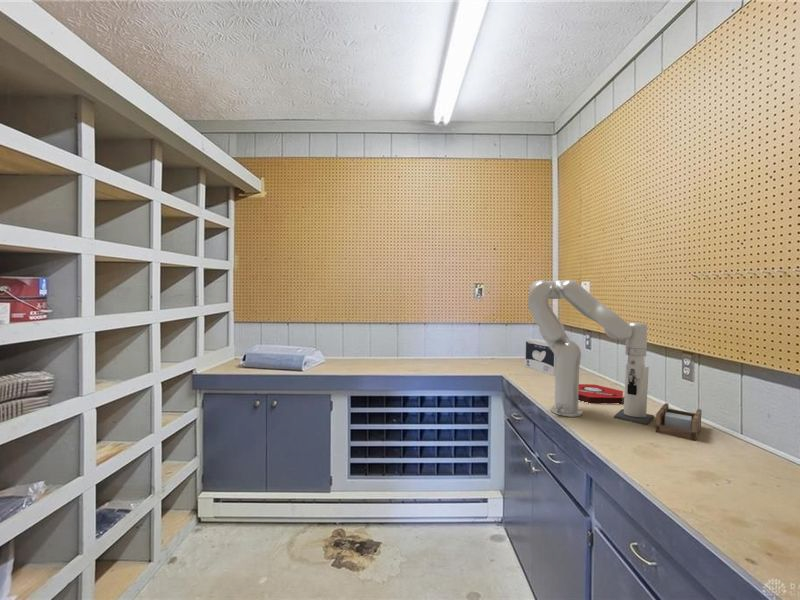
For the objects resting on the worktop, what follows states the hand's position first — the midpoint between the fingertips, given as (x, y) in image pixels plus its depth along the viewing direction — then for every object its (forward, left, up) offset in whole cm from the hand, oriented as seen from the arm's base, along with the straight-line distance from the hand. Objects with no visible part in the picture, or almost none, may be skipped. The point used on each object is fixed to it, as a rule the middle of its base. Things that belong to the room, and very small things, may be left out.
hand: (634, 392), depth 163 cm
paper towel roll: (0, 0, -10) cm, 10 cm away
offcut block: (-6, -16, -11) cm, 20 cm away
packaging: (+68, +67, -11) cm, 96 cm away
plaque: (+23, +23, -11) cm, 34 cm away
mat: (0, 0, -11) cm, 11 cm away
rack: (-4, -16, -11) cm, 20 cm away
